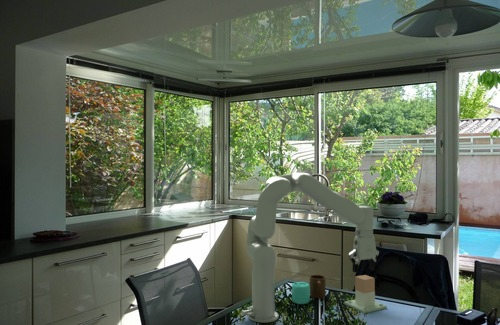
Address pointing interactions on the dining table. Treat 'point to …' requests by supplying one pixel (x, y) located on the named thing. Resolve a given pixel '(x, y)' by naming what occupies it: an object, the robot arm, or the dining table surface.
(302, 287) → the turquoise cylinder
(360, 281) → the orange tan cube
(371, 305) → the tower plate
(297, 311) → the dining table surface
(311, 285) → the mug
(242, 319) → the dining table surface
